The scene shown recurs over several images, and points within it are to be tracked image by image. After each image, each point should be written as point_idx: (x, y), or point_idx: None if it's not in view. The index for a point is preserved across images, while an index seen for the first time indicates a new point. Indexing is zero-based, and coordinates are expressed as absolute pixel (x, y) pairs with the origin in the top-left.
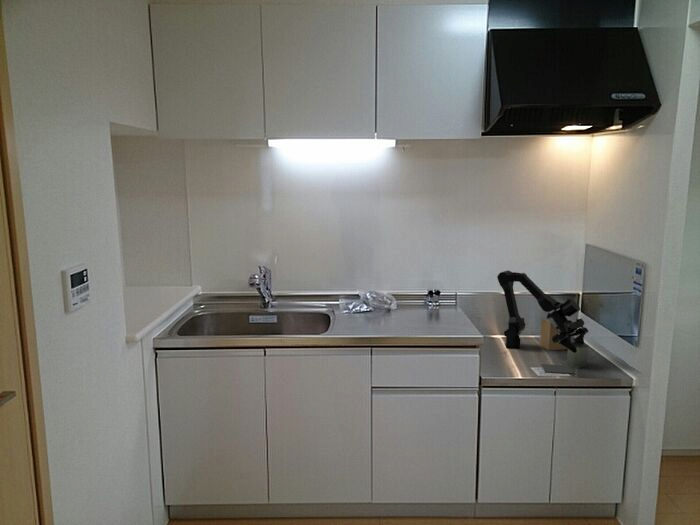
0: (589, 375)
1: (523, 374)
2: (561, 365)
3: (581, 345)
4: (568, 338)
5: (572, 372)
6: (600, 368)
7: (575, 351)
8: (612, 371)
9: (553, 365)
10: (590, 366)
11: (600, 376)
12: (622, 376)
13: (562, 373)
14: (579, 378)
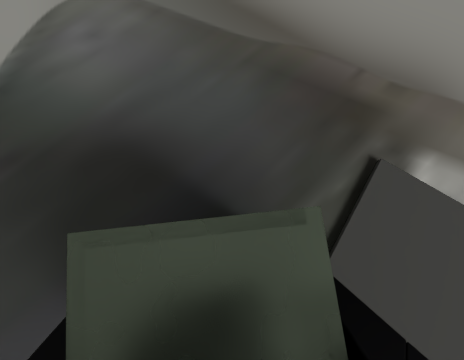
0: (284, 105)
1: None
2: None
3: (199, 275)
4: None
5: (382, 171)
6: (96, 168)
7: None
8: (70, 94)
9: (439, 357)
10: None
11: (227, 66)
12: (91, 15)
13: (450, 202)
14: (387, 94)
